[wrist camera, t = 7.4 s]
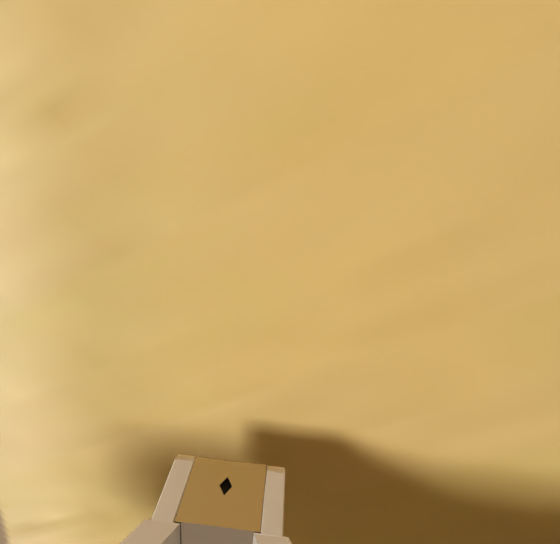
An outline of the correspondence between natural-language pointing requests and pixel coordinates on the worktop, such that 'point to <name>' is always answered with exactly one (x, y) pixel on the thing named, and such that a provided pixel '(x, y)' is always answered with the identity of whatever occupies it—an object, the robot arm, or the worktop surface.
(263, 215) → the worktop surface
